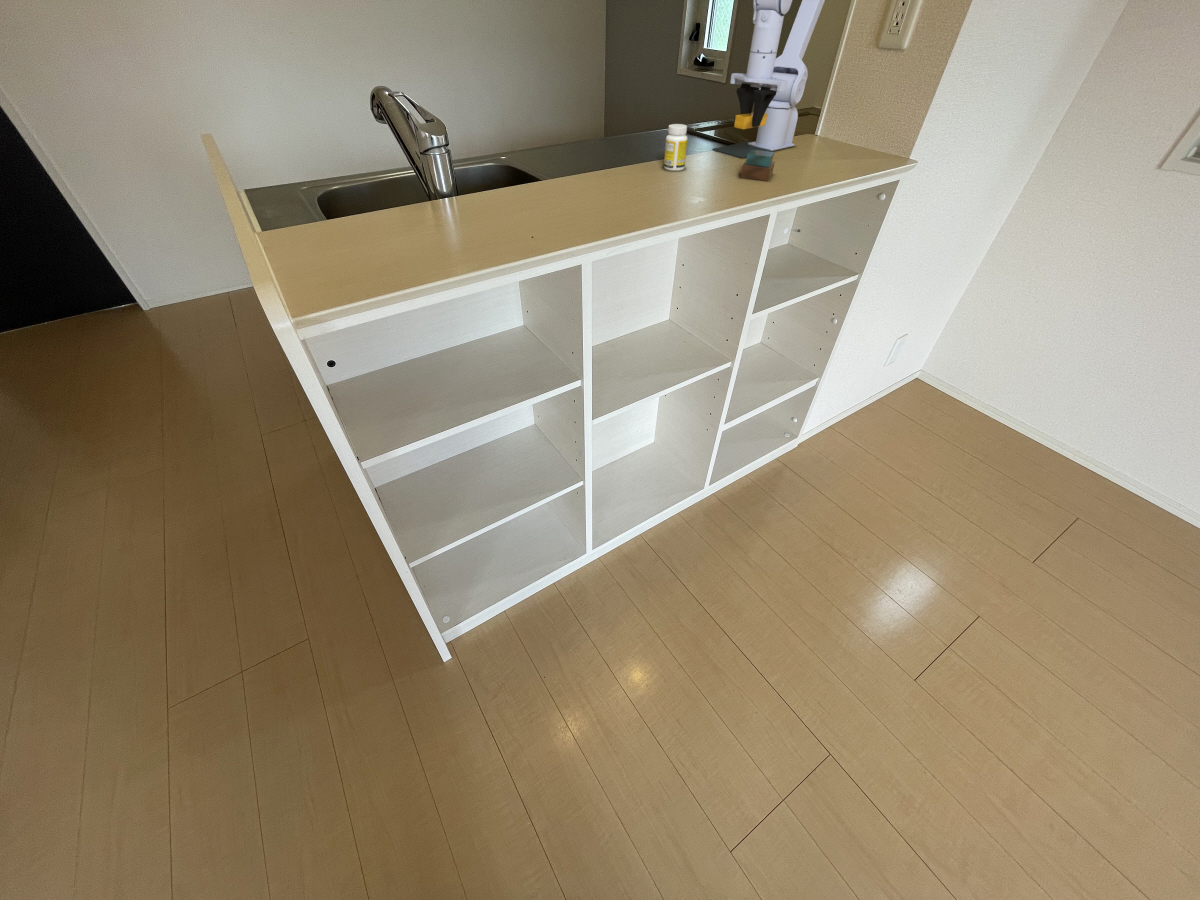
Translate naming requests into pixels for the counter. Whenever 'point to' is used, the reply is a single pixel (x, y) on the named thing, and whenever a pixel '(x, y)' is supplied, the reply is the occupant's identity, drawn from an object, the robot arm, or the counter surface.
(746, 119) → the bar
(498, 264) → the counter surface
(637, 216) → the counter surface
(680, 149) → the supplement bottle
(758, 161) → the two-tone stacked block
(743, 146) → the mat
